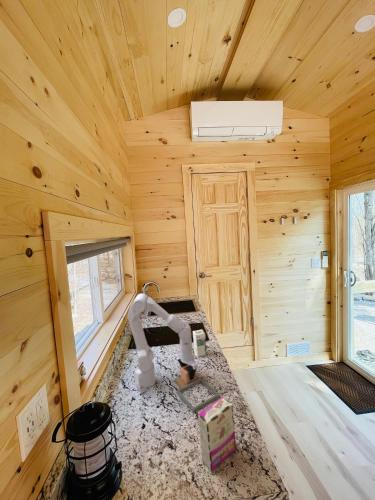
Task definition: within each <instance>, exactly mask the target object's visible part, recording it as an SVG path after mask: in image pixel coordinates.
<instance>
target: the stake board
mask: <svg viewBox="0 0 375 500" xmlns="http://www.w3.org/2000/svg"><path fill="white" fill-rule="evenodd" d="M185 371H187V369H186V370H185ZM198 379H199V378H197V379H195V380H193V381H191V382H189V383H186V382H185V381H184V380H183V379H182V378H181V376H179V377H178V378H175V379H173V380H172V381H173V382H174V384H175V385H176V386H177V387H178V389H180V388H182V387H184V386H186V385H188V384H190V383H192V382H194V381H196V380H198Z"/></svg>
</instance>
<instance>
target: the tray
mask: <svg viewBox="0 0 375 500" xmlns="http://www.w3.org/2000/svg"><path fill="white" fill-rule="evenodd" d="M197 379H198V380H196V381H194V382H192V383H190V384H188V385H186V386H184V387H182V388H178V389H177V390H176V391H175V393H176V395H177V396H178V397H179V399H181V400H182V401H183V402H184V404H185V405H186V406H187V407H188V409H190V411H191V412H192V413H195V412H198V411H199V410H200V409H203V408H205V407H206V406H207V405H209V404H211V403H214V402H215V401H217V400H219V399H220V398H221V395H220V393H219V392H218V391H216V390H215V389H214V388H213V387H212V386H211V385H210V384H208V382H206V381H205V379H203V378H202V377H201V378H197ZM200 383H201V384H202V385H203V386H204V387H205V388H207V390H209V391H210V392H211V393H212V394H213V396H211V397H210V398H208V399H206V400H204V401H202V402H201V403H199V404H197V405H195V406H193V405H192V404H191V403H190V401H189V400H188V399H187V398H186V397H185V396H184V394H182V392H185V391H186V390H189V389H190V388H192V387H195V386H197V385H198V384H200Z"/></svg>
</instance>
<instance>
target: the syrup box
mask: <svg viewBox="0 0 375 500" xmlns="http://www.w3.org/2000/svg"><path fill="white" fill-rule="evenodd" d="M192 338H193V350H194V355H195V356H196V357H197V358H203V357H206V356H208V354H207V353H208V352H207V343H206V339H207V338H206V332H205V331H204V330H203V329H199V330H193V331H192Z"/></svg>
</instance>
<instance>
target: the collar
mask: <svg viewBox="0 0 375 500" xmlns="http://www.w3.org/2000/svg"><path fill="white" fill-rule="evenodd" d="M187 366H189V365H186V366H184V367H182V368H181V367H180V370H179V371H180V377H181V378H182V379H183V380H184V381H185V382H186V383H189V382H191V381H193V380H195V379H198V378H197V371H196V372H195V376H194V379H193V380H190V379H189V374H188V371H185V370H186V367H187Z"/></svg>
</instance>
